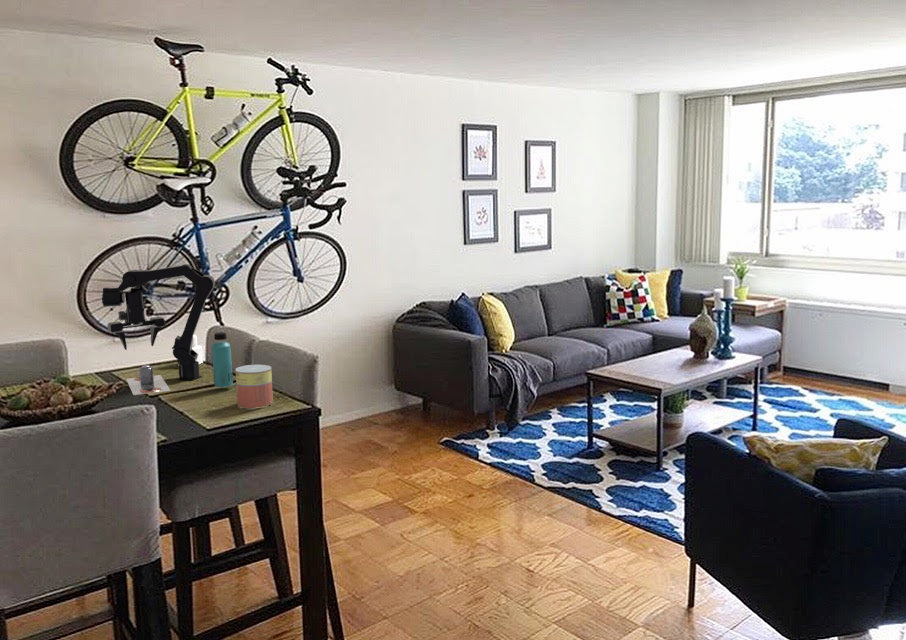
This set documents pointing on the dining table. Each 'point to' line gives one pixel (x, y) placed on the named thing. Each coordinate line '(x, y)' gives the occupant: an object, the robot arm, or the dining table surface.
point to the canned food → (254, 385)
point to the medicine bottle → (196, 350)
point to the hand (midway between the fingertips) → (139, 347)
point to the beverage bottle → (222, 361)
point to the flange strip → (144, 389)
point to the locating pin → (146, 375)
